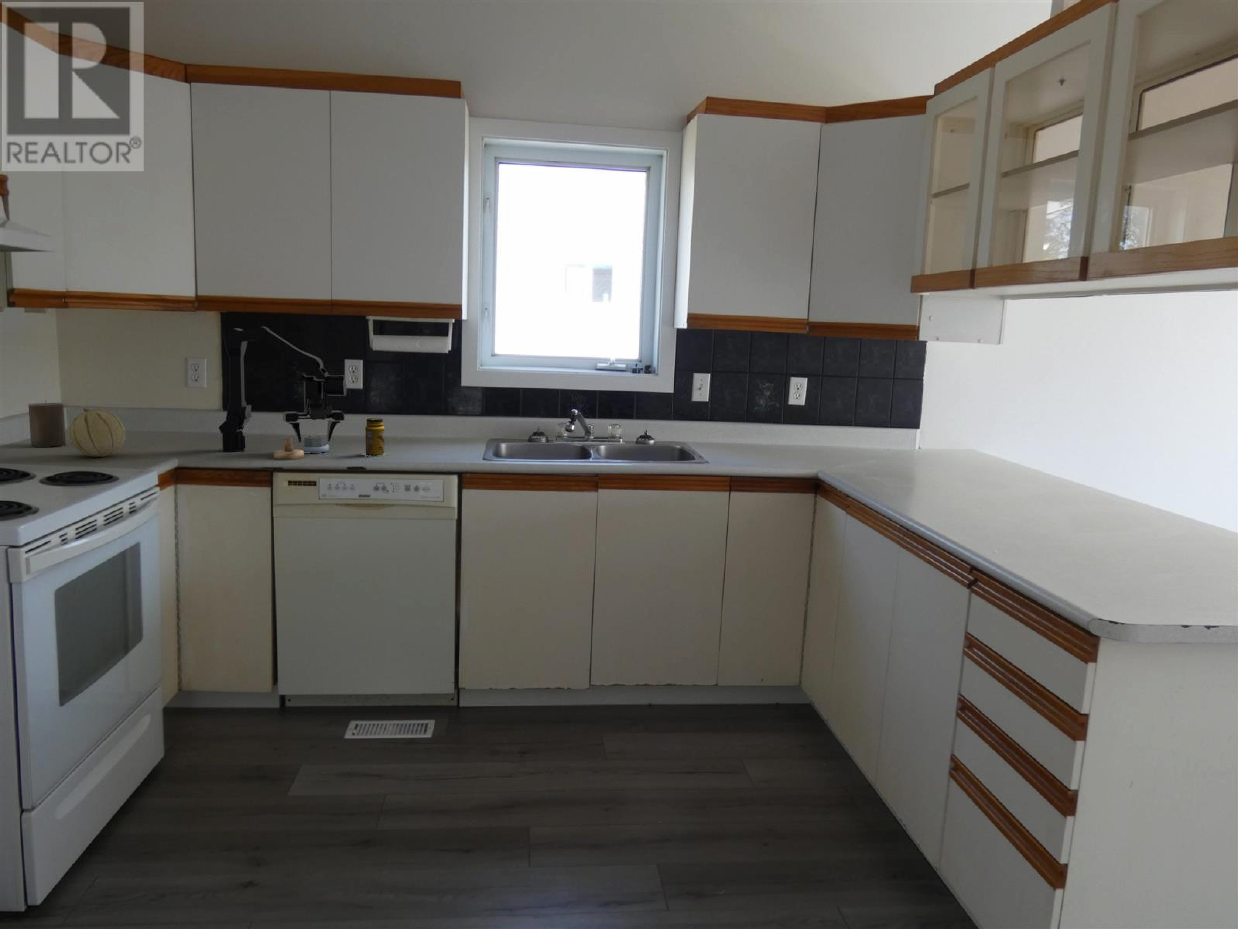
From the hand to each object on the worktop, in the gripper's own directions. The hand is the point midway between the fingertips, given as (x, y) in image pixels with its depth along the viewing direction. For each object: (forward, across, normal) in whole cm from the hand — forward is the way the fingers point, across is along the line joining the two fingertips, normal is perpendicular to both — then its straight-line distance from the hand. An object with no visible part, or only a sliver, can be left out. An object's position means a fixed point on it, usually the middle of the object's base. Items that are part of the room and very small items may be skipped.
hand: (314, 442), depth 293 cm
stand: (+3, -10, -10) cm, 14 cm away
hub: (+3, 0, 0) cm, 3 cm away
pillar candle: (+4, -76, +38) cm, 85 cm away
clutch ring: (+1, 0, 0) cm, 1 cm away
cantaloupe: (+4, -62, +9) cm, 63 cm away
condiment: (+4, +16, -12) cm, 20 cm away
